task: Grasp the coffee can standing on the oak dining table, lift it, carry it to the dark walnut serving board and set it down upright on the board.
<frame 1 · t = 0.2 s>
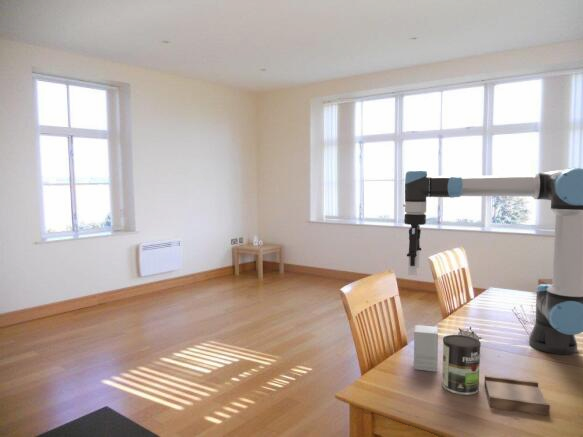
hand: (413, 271, 159), 28 cm above the table, fingers open, 13 cm apart
supplement box: (425, 366, 143), on the table
coffee can: (460, 387, 128), on the table
spiky polyhedron ball: (467, 350, 156), on the table
board: (514, 398, 121), on the table
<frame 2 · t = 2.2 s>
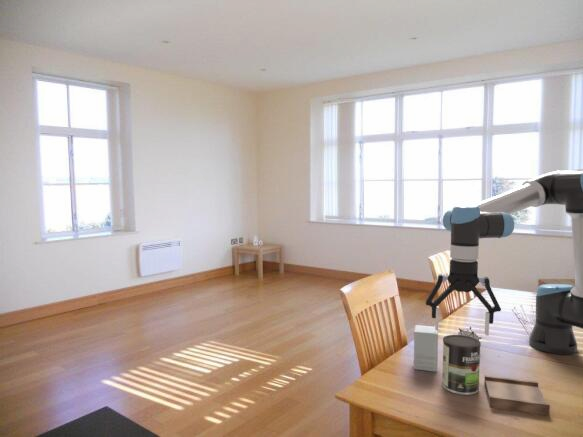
hand: (461, 331, 127), 17 cm above the table, fingers open, 13 cm apart
nothing on the table moved.
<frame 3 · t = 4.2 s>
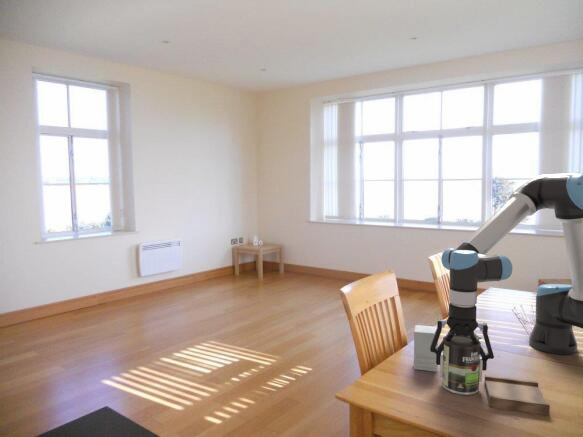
hand: (460, 377, 128), 3 cm above the table, fingers closed on coffee can, 10 cm apart
coffee can: (460, 387, 128), on the table, touching gripper
everything else where it was.
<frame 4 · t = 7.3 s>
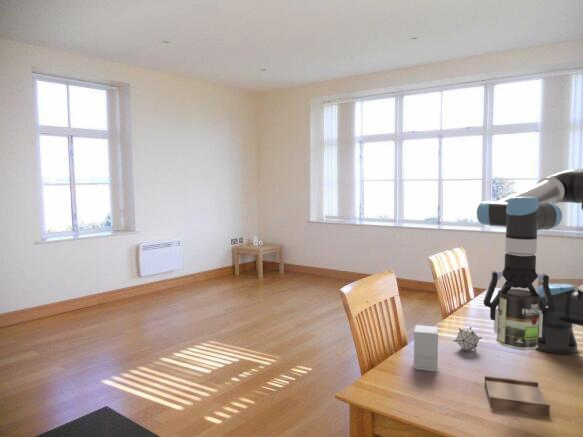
hand: (517, 333, 120), 19 cm above the table, fingers closed on coffee can, 10 cm apart
coffee can: (516, 344, 120), point 16 cm above the table, touching gripper
everything else where it was.
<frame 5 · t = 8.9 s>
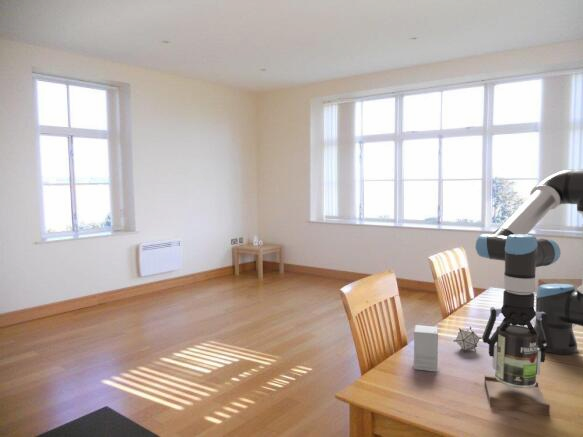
hand: (515, 370, 120), 8 cm above the table, fingers closed on coffee can, 10 cm apart
coffee can: (515, 380, 121), point 5 cm above the table, touching gripper
everything else where it was.
when the fingers open (6 cm above the table, at t = 10.4 s): coffee can drops 1 cm, resting on board.
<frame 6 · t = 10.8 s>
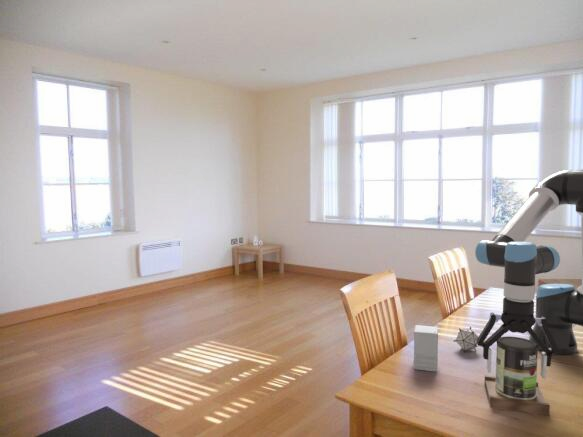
hand: (515, 373, 121), 7 cm above the table, fingers open, 13 cm apart
coffee can: (515, 392, 121), point 2 cm above the table, touching board
everything else where it was.
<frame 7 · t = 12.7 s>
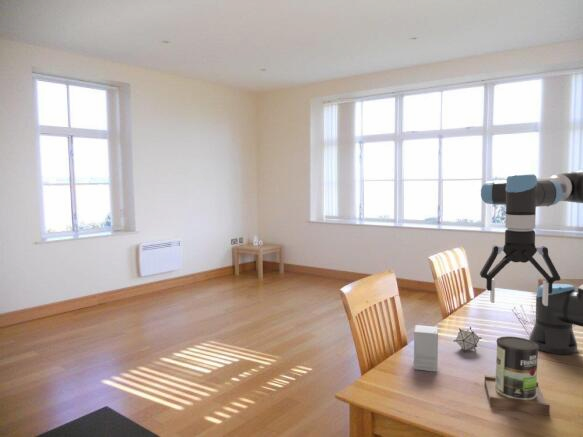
hand: (518, 303, 124), 26 cm above the table, fingers open, 13 cm apart
nothing on the table moved.
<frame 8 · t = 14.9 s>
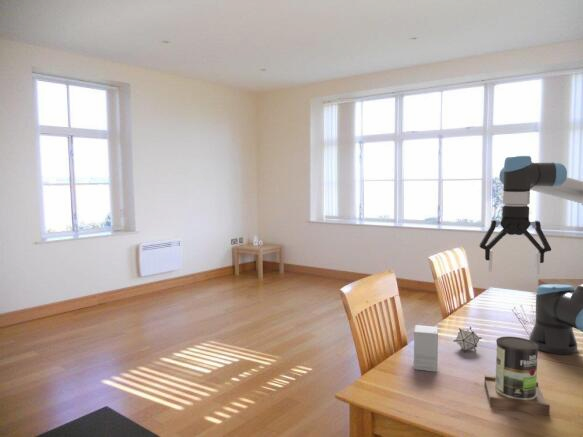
hand: (513, 271, 139), 32 cm above the table, fingers open, 13 cm apart
nothing on the table moved.
at the end: coffee can 0.1 cm from the board (horizontally); coffee can tilted 0°; coffee can touching board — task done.
